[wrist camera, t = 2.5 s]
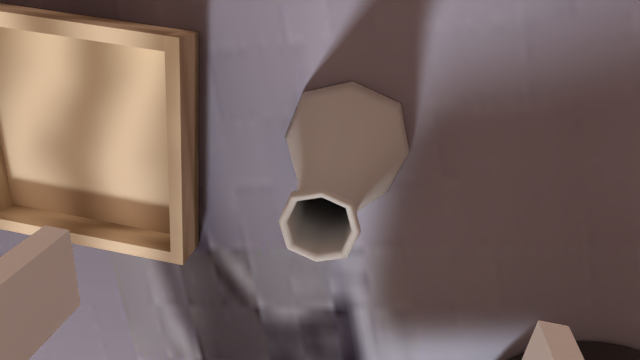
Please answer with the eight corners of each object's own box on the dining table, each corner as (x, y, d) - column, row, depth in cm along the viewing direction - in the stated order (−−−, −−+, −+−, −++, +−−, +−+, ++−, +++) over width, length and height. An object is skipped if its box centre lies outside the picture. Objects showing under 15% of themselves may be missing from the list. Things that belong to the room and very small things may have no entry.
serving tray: (198, 32, 25) (179, 37, 23) (198, 243, 31) (182, 264, 29) (-31, -2, 27) (-71, 1, 24) (11, 208, 33) (-18, 225, 30)
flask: (289, 73, 26) (227, 127, 17) (419, 87, 25) (429, 152, 16) (283, 189, 29) (229, 288, 20) (400, 205, 28) (399, 316, 19)
